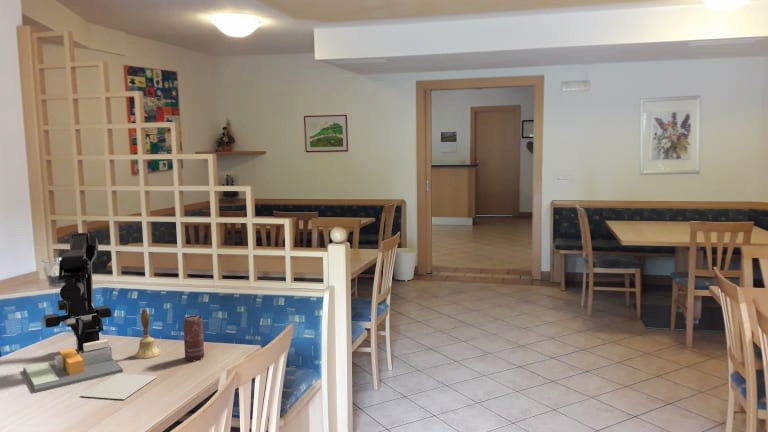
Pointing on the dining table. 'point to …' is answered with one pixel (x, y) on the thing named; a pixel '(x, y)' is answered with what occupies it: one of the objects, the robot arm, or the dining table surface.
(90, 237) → the robot arm
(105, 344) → the cream bar
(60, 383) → the slate board
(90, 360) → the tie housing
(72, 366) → the orange block
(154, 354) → the hand bell
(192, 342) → the can
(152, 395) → the dining table surface
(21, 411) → the dining table surface
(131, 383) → the paper stack
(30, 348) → the dining table surface
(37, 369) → the pad
